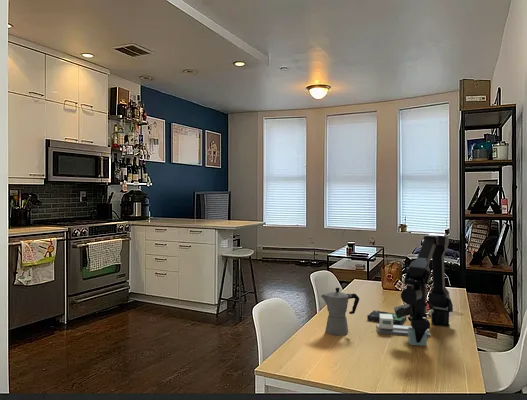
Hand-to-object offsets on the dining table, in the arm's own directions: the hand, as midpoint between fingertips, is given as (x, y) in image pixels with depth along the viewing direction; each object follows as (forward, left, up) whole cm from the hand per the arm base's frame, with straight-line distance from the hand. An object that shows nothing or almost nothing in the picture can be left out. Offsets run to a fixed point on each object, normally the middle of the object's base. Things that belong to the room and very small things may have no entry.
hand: (417, 340), depth 165 cm
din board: (+4, -13, -1) cm, 14 cm away
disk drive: (+9, -28, -2) cm, 29 cm away
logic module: (0, 0, -1) cm, 1 cm away
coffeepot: (+29, -6, -1) cm, 30 cm away
